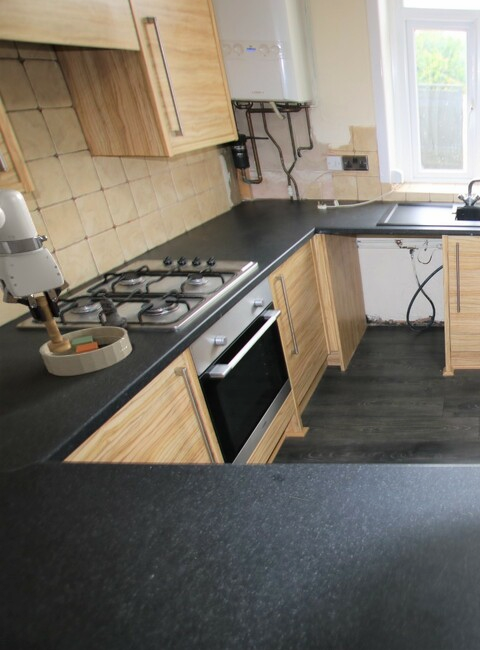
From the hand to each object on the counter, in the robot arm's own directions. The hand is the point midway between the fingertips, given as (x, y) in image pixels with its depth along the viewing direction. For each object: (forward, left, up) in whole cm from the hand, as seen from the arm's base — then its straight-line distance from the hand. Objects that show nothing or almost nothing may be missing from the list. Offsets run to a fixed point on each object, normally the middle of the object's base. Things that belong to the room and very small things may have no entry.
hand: (48, 318), depth 114 cm
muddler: (0, 0, -9) cm, 9 cm away
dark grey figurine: (+11, +17, -14) cm, 25 cm away
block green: (+4, +5, -13) cm, 15 cm away
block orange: (+5, 0, -13) cm, 14 cm away
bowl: (+5, +1, -14) cm, 15 cm away
